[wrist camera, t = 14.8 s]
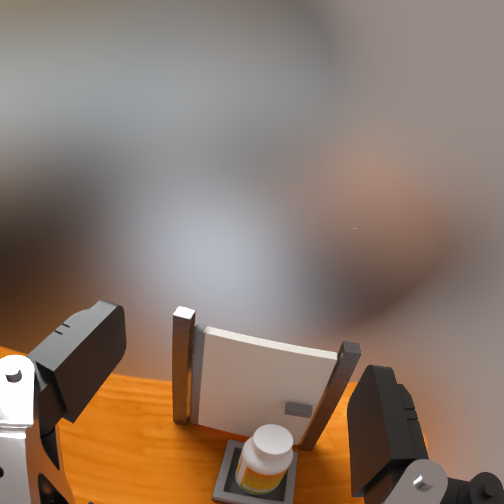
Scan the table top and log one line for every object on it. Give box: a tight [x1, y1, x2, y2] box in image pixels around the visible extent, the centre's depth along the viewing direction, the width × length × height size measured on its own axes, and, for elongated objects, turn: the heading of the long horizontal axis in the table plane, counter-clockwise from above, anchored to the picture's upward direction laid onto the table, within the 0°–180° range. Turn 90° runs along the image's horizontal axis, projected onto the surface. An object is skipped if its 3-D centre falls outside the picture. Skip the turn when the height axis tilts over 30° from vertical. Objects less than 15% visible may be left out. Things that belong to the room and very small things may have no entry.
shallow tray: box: [212, 439, 298, 504], centre depth 29 cm, size 9×9×1 cm
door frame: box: [172, 306, 361, 451], centre depth 33 cm, size 19×2×18 cm, turn 81°
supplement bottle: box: [235, 424, 293, 495], centre depth 27 cm, size 5×5×10 cm
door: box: [190, 324, 337, 445], centre depth 32 cm, size 15×3×16 cm, turn 81°
